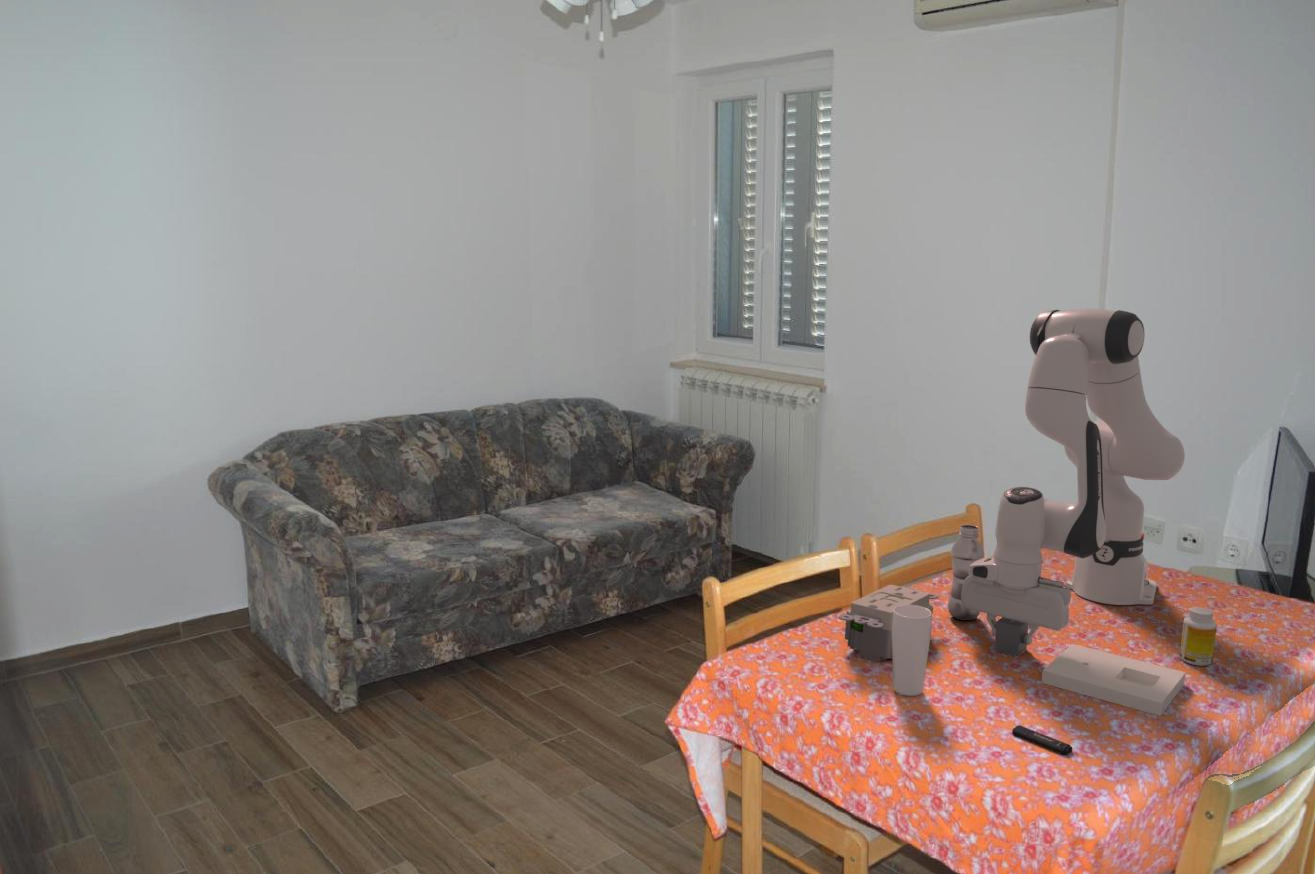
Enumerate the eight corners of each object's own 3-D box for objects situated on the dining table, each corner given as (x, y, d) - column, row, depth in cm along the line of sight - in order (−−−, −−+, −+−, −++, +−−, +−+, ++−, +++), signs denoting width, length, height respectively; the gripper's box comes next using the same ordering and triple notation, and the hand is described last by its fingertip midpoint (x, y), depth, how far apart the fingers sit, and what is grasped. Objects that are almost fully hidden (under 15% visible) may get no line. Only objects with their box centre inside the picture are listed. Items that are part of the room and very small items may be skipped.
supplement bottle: (1218, 666, 192) (1224, 615, 190) (1189, 667, 192) (1195, 615, 190) (1201, 654, 197) (1207, 604, 195) (1173, 655, 197) (1179, 605, 195)
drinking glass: (920, 702, 176) (925, 621, 174) (882, 693, 180) (887, 613, 177) (932, 688, 182) (937, 608, 179) (895, 679, 186) (899, 601, 183)
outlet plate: (1071, 655, 197) (1072, 643, 196) (1184, 684, 184) (1185, 671, 184) (1041, 682, 185) (1042, 669, 184) (1160, 715, 172) (1161, 702, 172)
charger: (1003, 643, 202) (1005, 614, 201) (1026, 649, 200) (1028, 619, 198) (994, 650, 199) (996, 620, 198) (1017, 656, 196) (1020, 626, 195)
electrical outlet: (826, 657, 194) (829, 606, 192) (891, 623, 216) (894, 577, 215) (883, 673, 187) (887, 621, 185) (944, 636, 209) (948, 589, 208)
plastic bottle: (983, 623, 212) (990, 531, 208) (951, 623, 212) (957, 531, 208) (975, 612, 219) (981, 523, 215) (943, 612, 219) (949, 522, 215)
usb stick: (1009, 736, 166) (1010, 727, 165) (1018, 731, 167) (1019, 722, 167) (1064, 758, 159) (1065, 749, 158) (1073, 753, 160) (1074, 744, 160)
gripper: (1077, 579, 192) (1071, 648, 195) (973, 557, 205) (968, 622, 208) (1066, 588, 187) (1059, 658, 190) (960, 564, 200) (955, 631, 203)
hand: (1011, 639), depth 199 cm, fingers closed on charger, 5 cm apart
